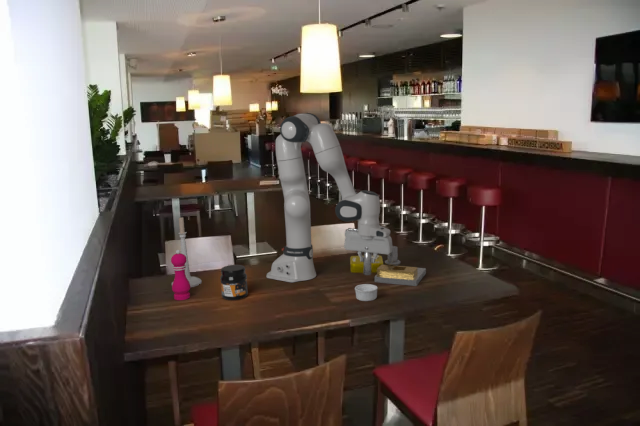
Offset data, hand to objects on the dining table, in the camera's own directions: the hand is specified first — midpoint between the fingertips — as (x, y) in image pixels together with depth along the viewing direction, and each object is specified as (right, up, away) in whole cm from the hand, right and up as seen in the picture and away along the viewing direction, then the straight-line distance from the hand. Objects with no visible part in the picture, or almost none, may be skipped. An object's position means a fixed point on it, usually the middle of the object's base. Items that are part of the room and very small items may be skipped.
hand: (367, 262), depth 219 cm
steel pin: (0, -5, +1) cm, 5 cm away
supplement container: (-54, -13, -8) cm, 56 cm away
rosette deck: (+15, -8, +8) cm, 19 cm away
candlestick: (-79, -11, +11) cm, 80 cm away
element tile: (+2, -6, +25) cm, 26 cm away
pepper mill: (-76, -14, -7) cm, 77 cm away
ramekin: (-2, -13, -15) cm, 20 cm away
